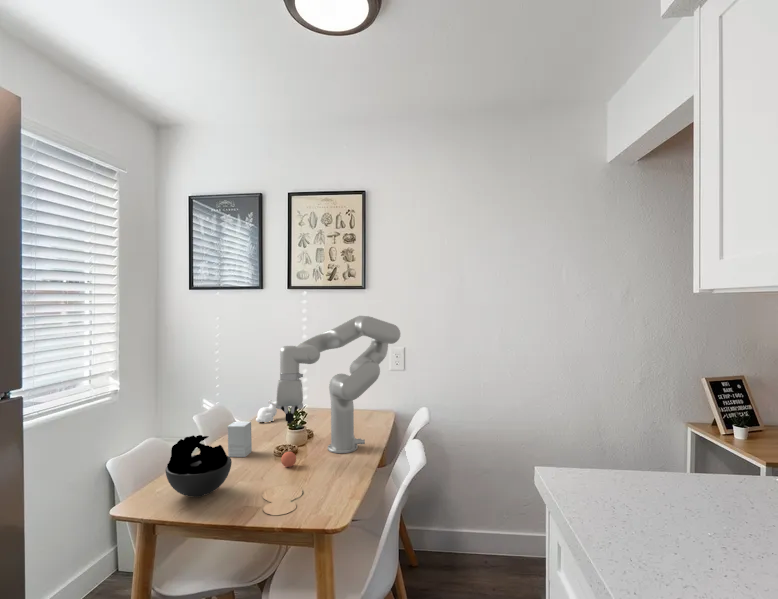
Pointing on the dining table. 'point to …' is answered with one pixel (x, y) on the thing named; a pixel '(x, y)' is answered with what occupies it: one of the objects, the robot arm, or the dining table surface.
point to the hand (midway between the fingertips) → (289, 422)
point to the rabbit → (267, 412)
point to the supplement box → (239, 439)
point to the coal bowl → (197, 467)
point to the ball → (288, 459)
